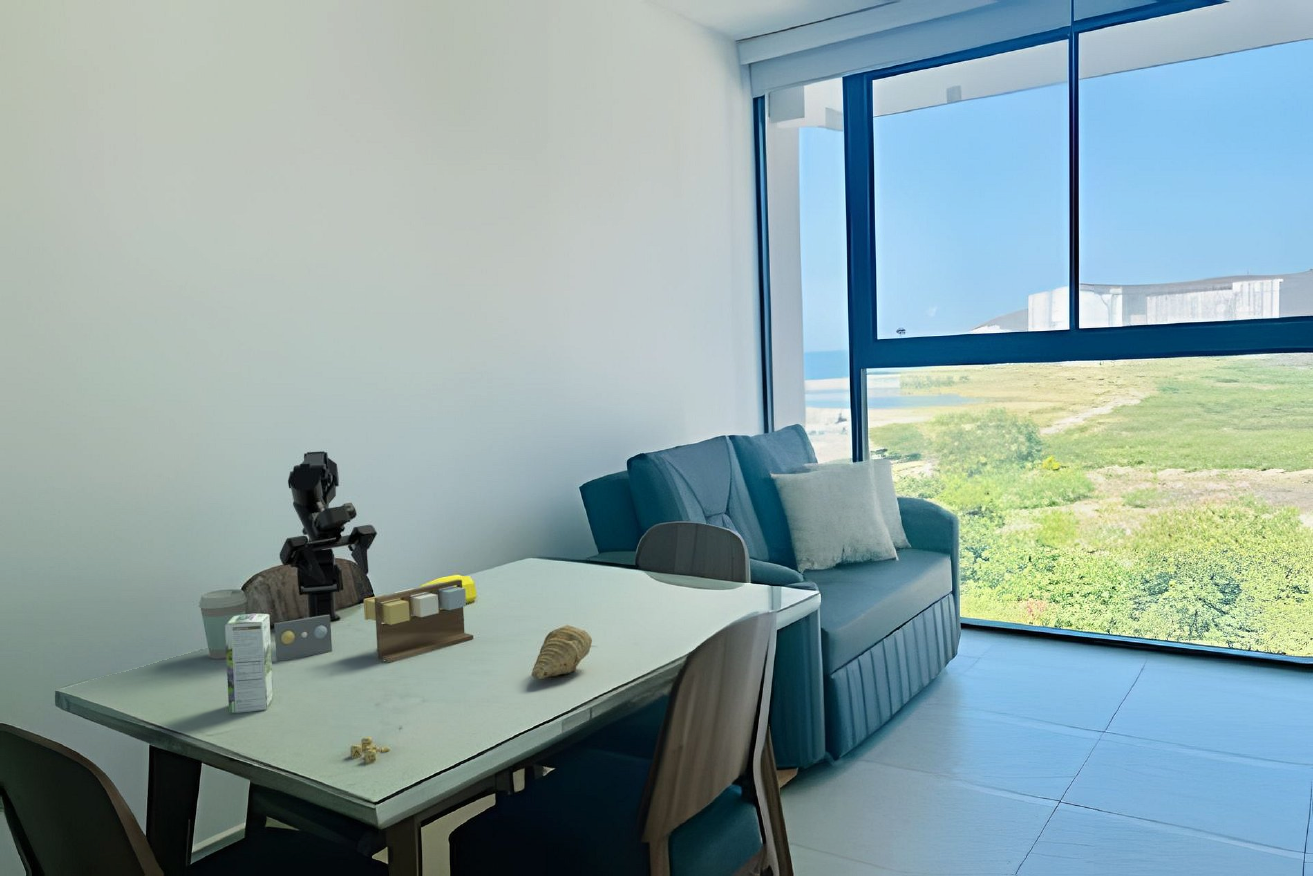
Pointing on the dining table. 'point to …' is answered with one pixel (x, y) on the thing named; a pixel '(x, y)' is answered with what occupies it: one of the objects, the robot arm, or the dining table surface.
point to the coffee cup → (220, 617)
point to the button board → (419, 627)
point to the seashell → (561, 652)
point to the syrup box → (249, 663)
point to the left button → (387, 610)
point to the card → (303, 637)
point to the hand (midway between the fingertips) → (345, 577)
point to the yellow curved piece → (466, 584)
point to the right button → (451, 597)
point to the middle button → (423, 604)
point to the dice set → (367, 750)
